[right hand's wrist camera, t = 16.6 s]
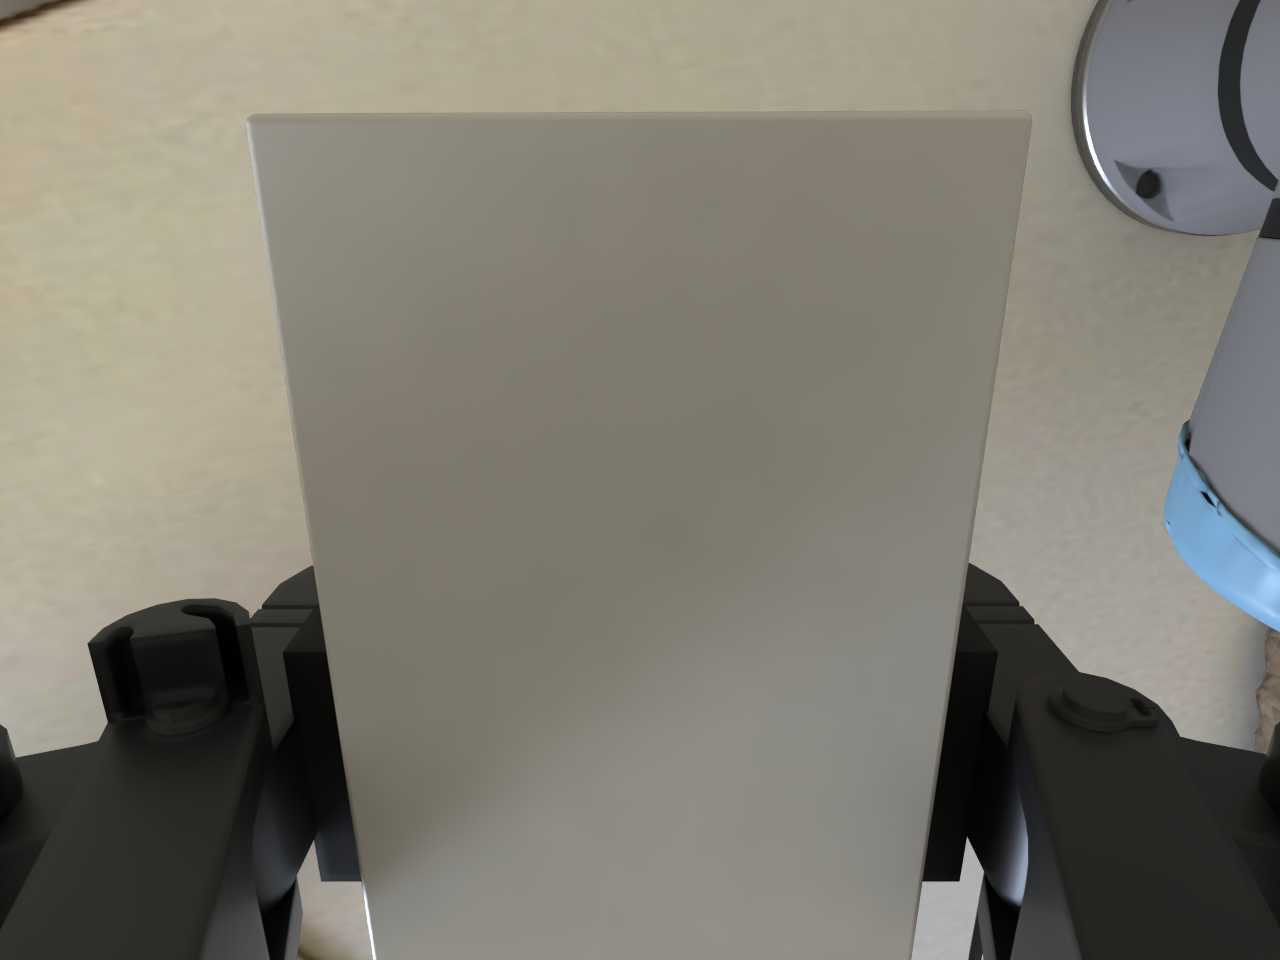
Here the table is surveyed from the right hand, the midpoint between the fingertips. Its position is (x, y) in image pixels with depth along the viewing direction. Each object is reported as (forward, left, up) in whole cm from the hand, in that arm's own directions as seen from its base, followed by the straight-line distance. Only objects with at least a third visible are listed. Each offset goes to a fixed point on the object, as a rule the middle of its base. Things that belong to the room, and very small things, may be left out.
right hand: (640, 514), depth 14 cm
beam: (+2, +22, -1) cm, 22 cm away
